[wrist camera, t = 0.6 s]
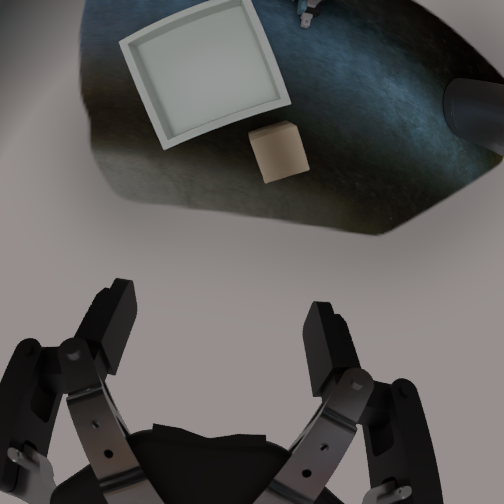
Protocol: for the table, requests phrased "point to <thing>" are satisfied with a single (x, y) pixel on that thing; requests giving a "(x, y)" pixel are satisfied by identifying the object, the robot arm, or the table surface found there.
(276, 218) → the table surface
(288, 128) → the pine block
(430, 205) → the table surface
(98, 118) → the table surface
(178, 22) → the tray
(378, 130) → the table surface
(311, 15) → the push button
